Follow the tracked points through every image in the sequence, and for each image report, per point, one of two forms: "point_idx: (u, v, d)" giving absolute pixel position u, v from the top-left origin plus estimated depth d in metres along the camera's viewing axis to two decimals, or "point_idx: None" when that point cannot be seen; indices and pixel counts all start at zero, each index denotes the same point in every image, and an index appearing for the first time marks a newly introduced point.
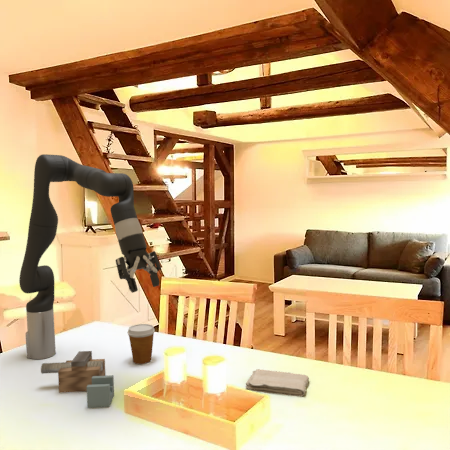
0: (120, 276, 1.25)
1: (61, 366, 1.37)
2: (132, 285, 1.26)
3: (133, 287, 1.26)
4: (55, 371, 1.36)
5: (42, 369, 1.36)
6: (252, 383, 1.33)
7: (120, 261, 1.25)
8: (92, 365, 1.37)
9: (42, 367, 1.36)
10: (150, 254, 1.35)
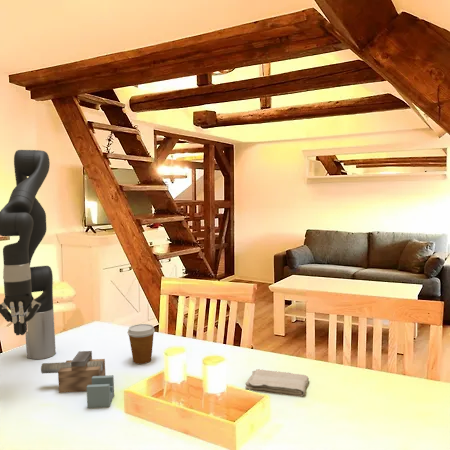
0: None
1: (61, 366, 1.37)
2: (14, 329, 1.35)
3: (15, 331, 1.35)
4: (55, 371, 1.36)
5: (42, 369, 1.36)
6: (252, 383, 1.33)
7: None
8: (92, 365, 1.37)
9: (42, 367, 1.36)
10: (34, 303, 1.35)
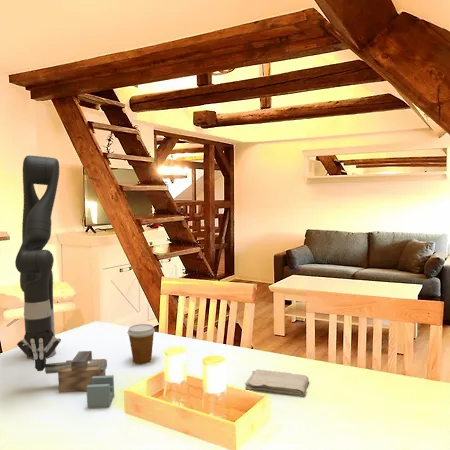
0: (30, 353, 1.38)
1: (65, 366, 1.37)
2: (35, 365, 1.37)
3: (36, 367, 1.37)
4: None
5: (46, 369, 1.36)
6: (252, 383, 1.33)
7: None
8: (96, 364, 1.37)
9: (46, 367, 1.36)
10: (54, 340, 1.36)
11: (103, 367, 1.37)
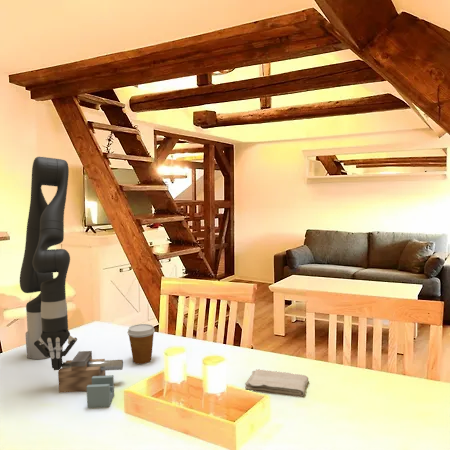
0: None
1: None
2: (52, 364, 1.37)
3: (52, 366, 1.37)
4: None
5: None
6: (251, 383, 1.33)
7: None
8: (113, 364, 1.38)
9: (63, 366, 1.37)
10: (70, 339, 1.37)
11: (119, 367, 1.38)
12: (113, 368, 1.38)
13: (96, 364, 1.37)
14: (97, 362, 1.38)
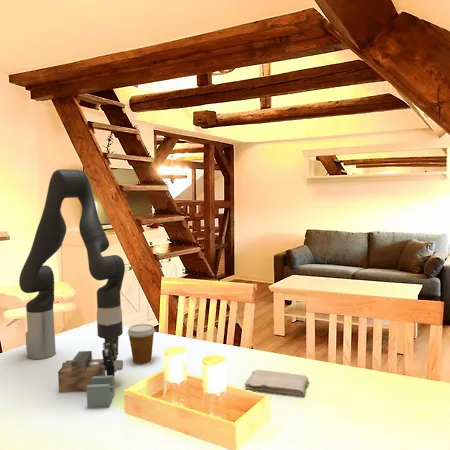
0: (105, 364, 1.34)
1: None
2: (112, 372, 1.36)
3: (112, 373, 1.36)
4: None
5: None
6: (251, 383, 1.33)
7: (109, 354, 1.32)
8: None
9: (62, 367, 1.36)
10: None
11: (119, 369, 1.38)
12: None
13: (95, 365, 1.37)
14: (97, 363, 1.37)
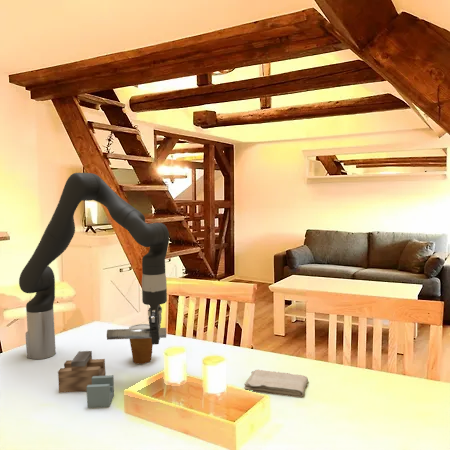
0: (151, 330, 1.34)
1: (126, 333, 1.37)
2: (157, 338, 1.37)
3: (157, 340, 1.37)
4: (121, 337, 1.37)
5: (108, 335, 1.37)
6: (251, 384, 1.32)
7: (156, 321, 1.32)
8: None
9: (108, 333, 1.37)
10: None
11: (164, 335, 1.38)
12: None
13: (140, 332, 1.37)
14: (141, 330, 1.38)
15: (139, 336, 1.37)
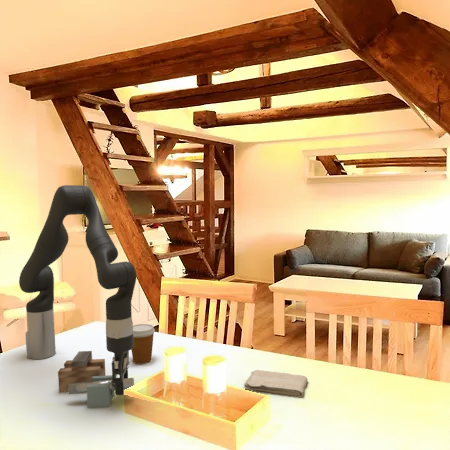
0: (114, 380, 1.21)
1: None
2: (121, 389, 1.23)
3: (121, 391, 1.23)
4: (84, 392, 1.26)
5: (69, 391, 1.25)
6: (250, 384, 1.32)
7: (119, 366, 1.20)
8: (123, 384, 1.26)
9: (69, 389, 1.26)
10: None
11: None
12: (124, 388, 1.27)
13: None
14: (106, 382, 1.27)
15: None
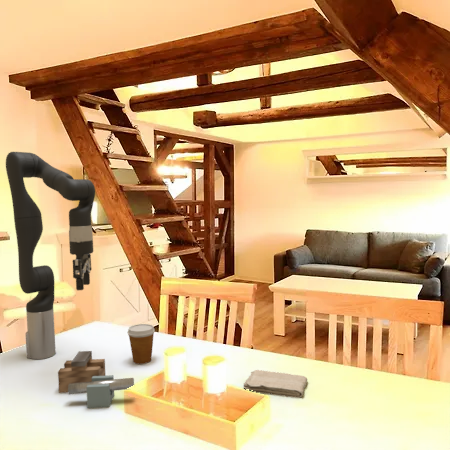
0: (74, 276, 1.42)
1: None
2: (81, 284, 1.45)
3: (81, 286, 1.45)
4: (84, 392, 1.26)
5: (69, 391, 1.25)
6: (250, 384, 1.32)
7: (79, 263, 1.42)
8: (123, 384, 1.26)
9: (69, 389, 1.26)
10: None
11: None
12: (124, 388, 1.27)
13: None
14: (106, 382, 1.27)
15: None
